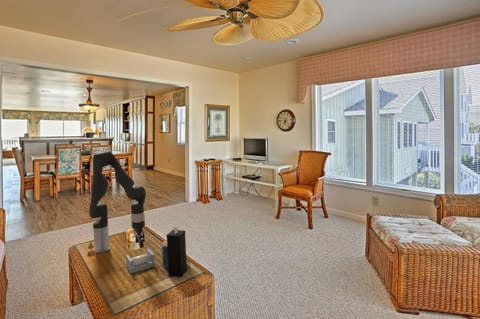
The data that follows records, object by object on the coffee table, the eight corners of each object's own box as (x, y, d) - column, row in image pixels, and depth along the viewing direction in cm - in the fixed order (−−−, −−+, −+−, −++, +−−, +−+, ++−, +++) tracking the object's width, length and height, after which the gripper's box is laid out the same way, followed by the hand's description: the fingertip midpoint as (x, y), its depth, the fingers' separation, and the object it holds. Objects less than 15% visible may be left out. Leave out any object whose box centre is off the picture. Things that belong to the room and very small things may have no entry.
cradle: (126, 266, 160) (125, 255, 159) (149, 259, 168) (148, 248, 168) (130, 273, 152) (129, 261, 151) (154, 266, 160) (153, 254, 160)
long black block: (181, 277, 147) (179, 230, 144) (168, 276, 148) (166, 229, 145) (186, 270, 155) (185, 225, 151) (174, 269, 156) (172, 224, 153)
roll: (133, 266, 154) (131, 257, 156) (132, 268, 158) (130, 259, 160) (149, 261, 159) (147, 252, 162) (147, 263, 164) (145, 254, 166)
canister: (170, 257, 170) (169, 231, 169) (187, 260, 166) (186, 234, 164) (158, 267, 158) (156, 239, 156) (176, 271, 154) (175, 242, 152)
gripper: (128, 217, 161) (130, 242, 163) (134, 224, 149) (136, 251, 151) (141, 215, 165) (142, 239, 167) (148, 221, 154) (149, 247, 156)
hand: (139, 245), depth 159 cm, fingers open, 8 cm apart
